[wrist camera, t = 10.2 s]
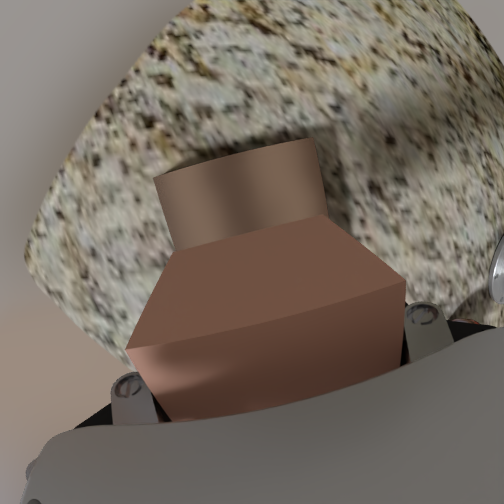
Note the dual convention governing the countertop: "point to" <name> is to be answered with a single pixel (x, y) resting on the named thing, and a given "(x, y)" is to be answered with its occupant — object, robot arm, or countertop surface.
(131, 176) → the countertop surface
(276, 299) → the cube
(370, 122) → the countertop surface
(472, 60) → the countertop surface
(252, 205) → the base
